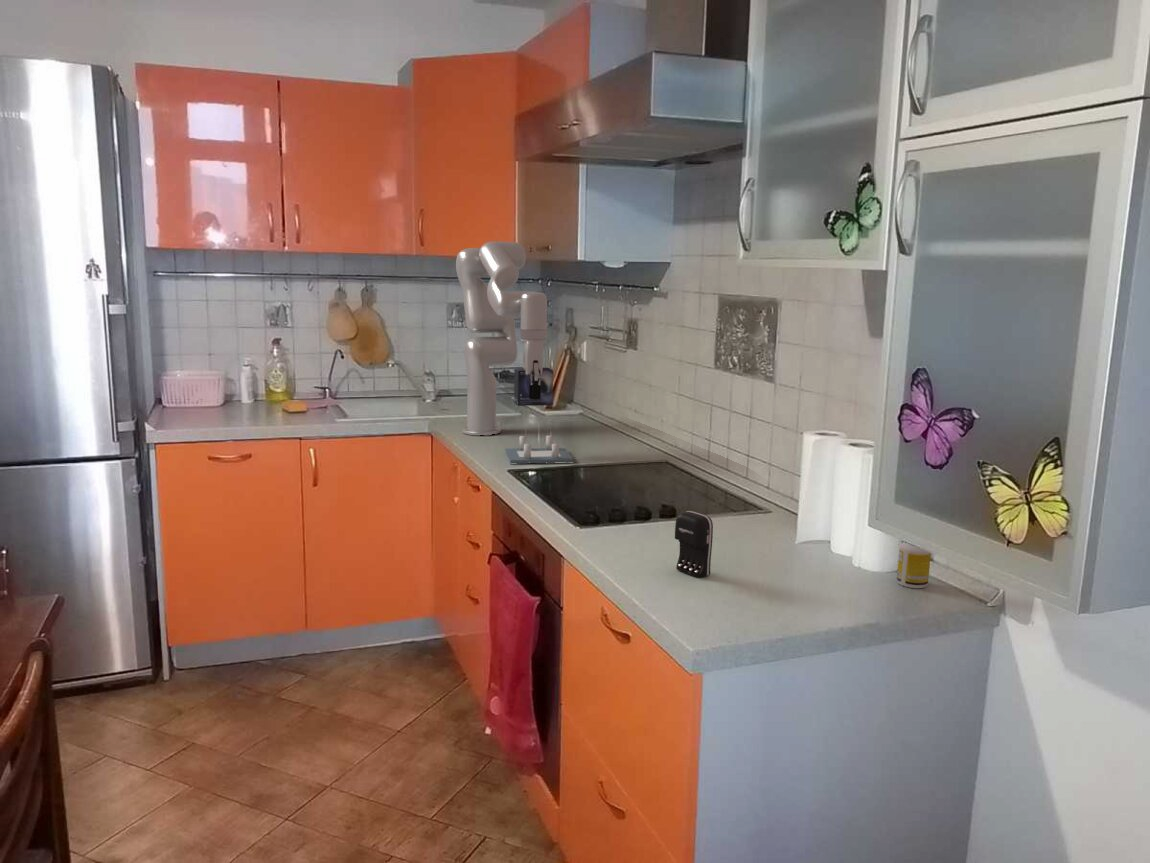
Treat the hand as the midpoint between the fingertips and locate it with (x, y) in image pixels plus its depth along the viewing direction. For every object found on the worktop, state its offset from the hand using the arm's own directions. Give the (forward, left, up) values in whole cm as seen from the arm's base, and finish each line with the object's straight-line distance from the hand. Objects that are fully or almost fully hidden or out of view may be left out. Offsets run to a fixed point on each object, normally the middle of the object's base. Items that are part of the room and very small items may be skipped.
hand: (533, 396), depth 264 cm
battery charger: (+104, +17, -18) cm, 107 cm away
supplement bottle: (+114, +56, -18) cm, 128 cm away
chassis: (+3, +1, -17) cm, 18 cm away
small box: (0, 0, -2) cm, 2 cm away
